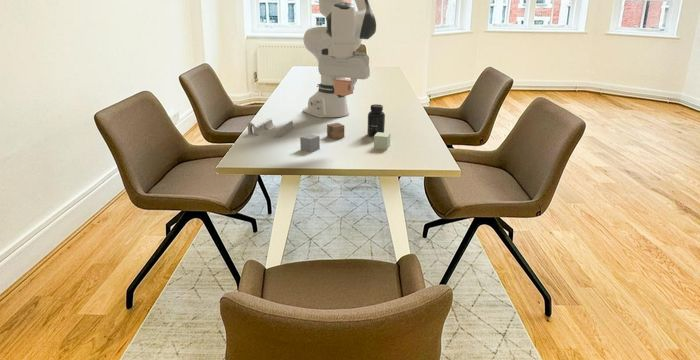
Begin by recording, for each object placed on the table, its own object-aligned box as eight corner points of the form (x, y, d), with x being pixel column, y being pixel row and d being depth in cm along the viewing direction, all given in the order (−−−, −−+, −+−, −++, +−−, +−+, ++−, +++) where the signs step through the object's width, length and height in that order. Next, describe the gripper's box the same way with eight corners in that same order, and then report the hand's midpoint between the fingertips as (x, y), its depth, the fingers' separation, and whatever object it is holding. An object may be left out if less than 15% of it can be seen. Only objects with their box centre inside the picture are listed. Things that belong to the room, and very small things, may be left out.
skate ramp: (278, 138, 210) (277, 126, 209) (248, 135, 214) (247, 123, 212) (293, 128, 224) (292, 117, 222) (264, 126, 228) (264, 114, 226)
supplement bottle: (370, 137, 210) (370, 108, 206) (365, 133, 216) (365, 104, 212) (386, 136, 212) (387, 107, 208) (381, 131, 218) (381, 103, 214)
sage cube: (373, 148, 198) (374, 135, 196) (377, 144, 202) (377, 132, 200) (387, 149, 196) (387, 136, 194) (390, 145, 201) (390, 133, 199)
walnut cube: (327, 136, 212) (326, 124, 210) (337, 134, 215) (337, 122, 213) (333, 139, 208) (333, 127, 206) (344, 137, 211) (344, 125, 209)
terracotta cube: (334, 94, 194) (334, 80, 193) (341, 91, 198) (341, 78, 197) (345, 95, 192) (345, 82, 190) (353, 93, 196) (353, 79, 194)
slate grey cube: (300, 149, 196) (300, 136, 194) (309, 146, 200) (309, 133, 198) (310, 152, 193) (310, 139, 191) (319, 149, 197) (319, 136, 195)
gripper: (373, 51, 187) (372, 90, 192) (325, 47, 197) (326, 84, 202) (364, 54, 182) (363, 94, 187) (315, 49, 192) (316, 87, 197)
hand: (343, 89), depth 195 cm, fingers closed on terracotta cube, 5 cm apart
